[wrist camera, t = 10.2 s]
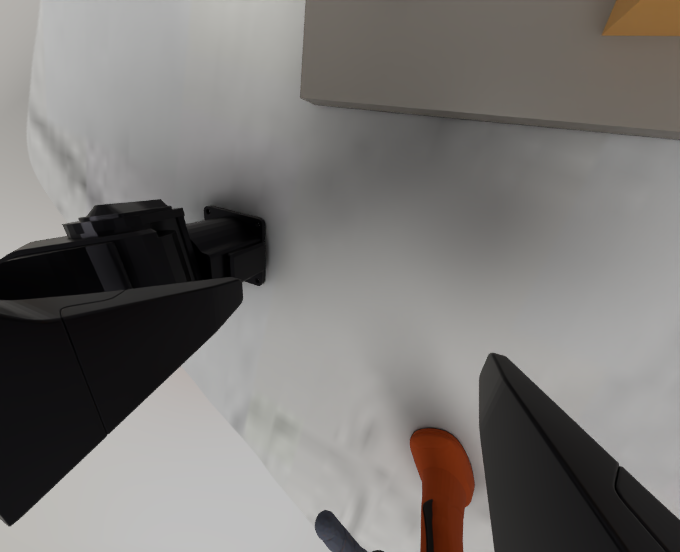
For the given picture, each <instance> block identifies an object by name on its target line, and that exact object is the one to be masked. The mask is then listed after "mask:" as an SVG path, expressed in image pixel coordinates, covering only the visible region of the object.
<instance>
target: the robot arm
mask: <svg viewBox="0 0 680 552" xmlns="http://www.w3.org/2000/svg"><path fill="white" fill-rule="evenodd" d="M209 210H210V211H209ZM184 216H185V215H184V211H183V208H176V209H172V207H171V206H167V205H166V204H165V203H164V202H163V201H162V200H161V199H159V200H149V201H139V202H128V203H116V204H105V205H96V206H94V207H93V209H92V210H91V211H90V213H89V214H88V216H87V217H82V218H78V219H79V221H78V222H72V223H67V224H62V225H63V227H64V229H65V231H66V233H67V236H65V237H58V238H52V239H46V240H40V241H34V242H30V243H28V244H26V245H24V246H22V247H21V248H19V249H17V250H15V251H13V252H12V253H10V254H8V255H6V256H5V257H3V258H2V259H0V519H1V520H2V521H3V522H4V523H5V524H7V525H8V526H11V525H13V524H14V523H15V522H16V521H18V520H19V519H20V518H21V517H22V516H23V515H24V514H25V513H26V512H28V510H29V509H30V508H32V507H33V506H34V505H35V504H36V503H37V502H38V501H39V500H40V499H41V498H42V497H43V496H44V495H45V494H46V493H48V492H49V491H50V490H51V489H52V488H53V487H54V486H55V485H56V484H57V483H58V482H59V481H60V480H61V479H62V478H63V477H64V476H65V475H66V474H68V473H69V471H70V470H72V469H73V468H74V467H75V466H76V465H77V464H78V463H79V462H80V461H81V460H82V459H83V458H84V457H85V456H86V455H87V454H89V453H90V452H91V451H92V450H93V449H94V448H95V447H96V446H97V445H98V444H99V443H100V442H101V441H102V440H103V439H104V438H105V437H106V436H107V434H109V433H110V432H111V431H112V430H113V429H115V427H117V426H118V425H119V424H120V423H121V422H122V421H123V420H124V419H125V418H126V417H127V416H128V415H129V414H130V413H131V412H133V410H135V409H136V408H137V407H138V405H140V404H141V403H142V402H143V401H144V400H145V399H146V398H147V397H148V396H149V395H150V394H151V393H153V392H154V390H156V388H158V387H159V386H160V385H161V384H162V383H163V382H164V381H165V380H166V379H167V378H168V377H169V376H170V375H172V373H174V372H175V371H176V370H177V369H178V368H179V367H180V366H181V365H182V364H183V363H184V362H185V361H186V360H187V359H188V358H189V357H190V356H192V355H193V354H194V353H195V352H196V351H197V350H198V349H199V348H200V347H201V346H202V345H203V344H204V343H205V342H206V341H207V340H208V339H209V338H211V337H212V336H213V335H214V334H215V333H216V332H217V331H218V329H219V328H220V327H221V326H222V325H223V324H224V323H225V322H226V320H227V319H228V318H229V317H230V316H231V315H232V314H233V312H234V311H235V310H236V309H237V308H238V307H239V306H240V304H241V303H242V300H243V288H242V282H244V281H245V282H248V283H251V284H254V285H257V286H260V285H262V284H263V283H264V281H265V222H264V220H263V219H261V218H258V217H254V216H250V215H246V214H242V213H238V212H234V211H230V210H226V209H222V208H218V207H214V206H206V207H205V208H204V217H205V220H204V221H199V222H194V223H189V224H186V223H185V220H184ZM258 222H259V223H260V226H259V225H258ZM258 279H259V280H260V281H259V280H258ZM479 430H480V439H481V447H482V455H483V463H484V471H485V479H486V487H487V495H488V503H489V511H490V519H491V527H492V535H493V543H494V551H495V552H680V520H679V519H678V518H677V517H676V516H675V515H674V514H672V513H671V512H670V511H669V510H668V509H667V508H666V507H665V506H664V505H663V504H662V503H661V502H660V501H658V500H657V499H656V498H655V497H654V496H653V495H652V494H651V493H650V492H649V491H648V490H647V489H645V488H644V487H643V486H642V485H641V484H640V483H639V482H638V481H637V480H636V479H635V478H634V477H633V476H632V475H631V474H630V473H629V472H628V471H626V470H625V469H624V468H623V467H621V466H619V463H618V462H617V461H616V460H615V459H614V458H613V457H612V456H611V455H609V454H608V453H607V452H606V451H605V450H604V449H603V448H602V447H601V446H600V445H599V444H598V443H597V442H596V441H595V440H594V439H593V438H592V437H590V436H589V435H588V434H587V433H586V432H585V431H584V430H583V429H582V428H581V427H580V426H579V425H578V424H577V423H576V422H575V421H574V420H573V419H571V418H570V417H569V416H568V415H567V414H566V413H565V412H564V411H563V410H562V409H561V408H560V407H559V406H558V405H557V404H556V403H555V402H554V401H552V400H551V399H550V398H549V397H548V396H547V395H546V394H545V393H544V392H543V391H542V390H541V389H540V388H539V387H538V386H537V385H536V384H535V383H533V382H532V381H531V380H530V379H529V378H528V377H527V376H526V375H525V374H524V373H523V372H522V371H521V370H520V369H519V368H518V367H517V366H516V365H514V364H513V363H512V362H511V361H510V360H509V359H508V358H507V357H506V356H503V355H499V354H496V353H490V354H489V355H488V357H487V359H486V362H485V364H484V366H483V368H482V371H481V373H480V377H479Z"/></svg>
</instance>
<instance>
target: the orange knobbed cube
mask: <svg viewBox="0 0 680 552" xmlns="http://www.w3.org/2000/svg"><path fill="white" fill-rule="evenodd" d="M601 36H680V0H616V2H615V5H614V7H613V9H612V12H611V14H610V16H609V19H608V21H607V23H606V26H605V28H604V30H603V33H602V35H601Z"/></svg>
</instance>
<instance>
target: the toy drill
mask: <svg viewBox="0 0 680 552" xmlns="http://www.w3.org/2000/svg"><path fill="white" fill-rule="evenodd" d="M410 448H411V452H412V455H413V458H414V461H415V464H416V467H417V470H418V472H419V475H420V478H421V480H422V506H421V552H463V518H464V509H465V507H467V506H468V505H469V504H470V502H471V500H472V496H473V492H474V486H475V483H474V478H473V472H472V468H471V464H470V462H469V459H468V457H467V454H466V452H465V450H464V449H463V447H462V445H461V444H460V443H459V441H458V440H457V439H456V438H455V437H454V436H453V435H451V434H449V433H448V432H446V431H443V430H440V429H435V428H426V429H420V430H417V431H416V432H414V434H413V435H412V437H411V438H410ZM315 530H316V533H317V535H318V536H319V538H321V539H322V540H323V542H324V543H325V544H326V546H327V547H328V548H329V549H330V550H331V551H332V552H367V551H366V550H365V549H363V548H362V547H361V546H360V545H359V544H358V543H357V542H356V541H355V539H354V538H353V537H352V536H351V535H350V533H349V532H348V531H347V530H346V529H345V527H344V526H343V525H342V524H341V523H340V522H339V520H338V519H337V518H336V517H335V515H334V514H333V513H332V512H331V511H327V510H324V511H322V512H321V513H319V514H318V516H317V518H316V522H315ZM373 552H384V551H381V550H377V551H373Z"/></svg>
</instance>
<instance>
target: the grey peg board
mask: <svg viewBox="0 0 680 552" xmlns="http://www.w3.org/2000/svg"><path fill="white" fill-rule="evenodd" d="M615 2H616V0H306V5H305V22H304V39H303V56H302V73H301V90H300V98H301V99H303V100H306V101H308V102H310V103H312V104H314V105H323V106H333V107H344V108H354V109H364V110H375V111H385V112H396V113H406V114H416V115H427V116H437V117H448V118H458V119H469V120H479V121H489V122H500V123H510V124H521V125H531V126H541V127H552V128H562V129H573V130H583V131H594V132H604V133H614V134H625V135H635V136H646V137H656V138H666V139H677V140H680V36H601V35H602V33H603V30H604V28H605V26H606V23H607V21H608V19H609V16H610V14H611V12H612V9H613V7H614V5H615Z"/></svg>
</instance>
